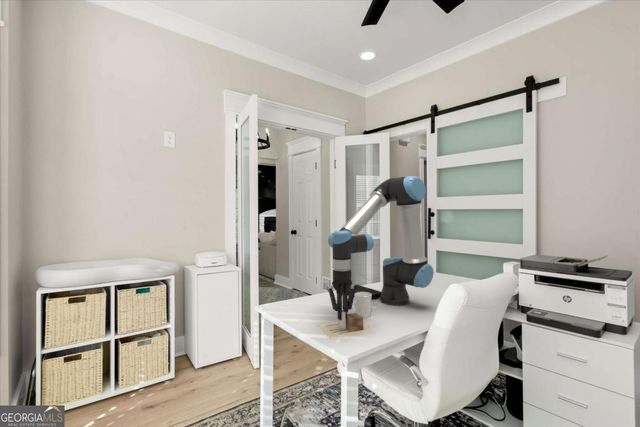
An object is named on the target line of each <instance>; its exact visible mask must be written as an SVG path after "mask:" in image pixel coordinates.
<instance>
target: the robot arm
mask: <svg viewBox="0 0 640 427" xmlns="http://www.w3.org/2000/svg"><path fill="white" fill-rule="evenodd" d="M426 194H427V189H426V184H425V183H424V181H423V180H422V179H421V177H419V176H418V175H417V176H416V175H408V176H401V177H400V176H399V177H390V178H387V179H386V180H384V181H382V182H381V183H380V184H378V185H377V186H376V187H375V188H374V189H373V190H372V191H371V192H370V194H369V197H368V199H367V200H366V201H365V202H364V203H363V204H362V205H361V206H360V208H359V209H357V211H356V212H355V213H354V214H352V216H351V217H350V218H349V220H347V222H345V224H343V226H341V227H340V229H339V230H335V231H333V232H332V233H330V234H329V236H328V237H327V242H328V243H327V244H328V245H329V247H330V248H332V250H331V252H332V269H333V270H332V282H331V285H330V286H327V287H326V290H327V292H328V295H329V297H330V303H331V306H332V309H333V311H335V312H337V314H336V316H337V320H339V326H340V327H341V328H342V329H344V328H346V321H345V319H347V314H348V313H349V311H350V310H352V309H353V305H354V304H353V303H354V301H355V298H354V295H355V291H356V289H357V286H356V285H357V284H354V283H353V281H352V270H351V269H352V255H353V254H357V253H367V252H370V251H372V250H373V248H374V245H375V240H374V238H373V236H372V235H370V234H368V233H362V234H359V233H361V231H362V230H363V228H365V227H366V225H367V224H368V223H369V222H370V221H371V220H372V219H373V217H374V216H376V214H377V213H378V212H379V210H380V209H381V208H384V207H386V206H387V205H388V204H390V203H392V202H396V204H395V205H396V207H397V208H398V209H400V211H399V212H400V221H401V228H402V230H401V231H402V239H403V247H404V248H403V249H404V256H394V257H386V258H384V259H383V261H382V289H381V295H380V298H379V302H381V303H383V304H385V305H389V306H391V305H392V306H405V305H408V304H409V303H410V296H409V293H408V289H407V286H409V287H410V286H411V287H415V288H421V289H425V288H427V287H428V286H429V285H430V284H431V282H432V281H433V278H434V267H433V266H432V265H431V264H429V263H428V258H427V257H426V256H425V255H424V250H423V248H424V247H423V239H422V230H421V227H422V226H421V219H420V217H421V216H420V206H421V204H422V200H423V199H425V198H426ZM349 288H350V292H349V296H348V290H349ZM334 291H335V293H334ZM335 294H336V295H335Z"/></svg>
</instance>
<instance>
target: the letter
mask: <svg viewBox="0 0 640 427" xmlns="http://www.w3.org/2000/svg"><path fill="white" fill-rule="evenodd" d="M316 326H317V327H318V328H319V329H320V330H321V332H323V333H324V334H325V335H326V337H328V338H329V339H335V338H340V337H341V338H342V337H347V336H353V335H358V334H364V333H369V332H374V331H377V330H376V329H374V328H373V327H371V326H370V325H369V324H367V323H366V322H365V321H363V330H359V331H353V332H349V331H348V330H347V329H346V328H344V329H342V328H341V327H340V326H339V321H333V322H332V321H331V322H327V323H322V324H321V323H320V324H316Z"/></svg>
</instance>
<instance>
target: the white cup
mask: <svg viewBox="0 0 640 427" xmlns="http://www.w3.org/2000/svg"><path fill="white" fill-rule="evenodd" d="M354 297H355V298H354V309H355V313H357V314H359V315H360V316H362V317H363V319H367V318H371V314H372V300H371V299H372V294H371V293H368V292H357V293H355V295H354Z"/></svg>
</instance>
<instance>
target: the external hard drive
mask: <svg viewBox="0 0 640 427" xmlns="http://www.w3.org/2000/svg"><path fill="white" fill-rule="evenodd" d="M355 285H356V286H357V289H356V291H355V293H357V292H368V293H371V294H372V299H371V301H374V300H378V299H379V300H380V295H381V291H382V290H381V291H380V290H377V289H373V288H369V287H367V286H364V285H360V284H355ZM349 292H350V288H349V290H348V297H349ZM354 299H355V297H354Z"/></svg>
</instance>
